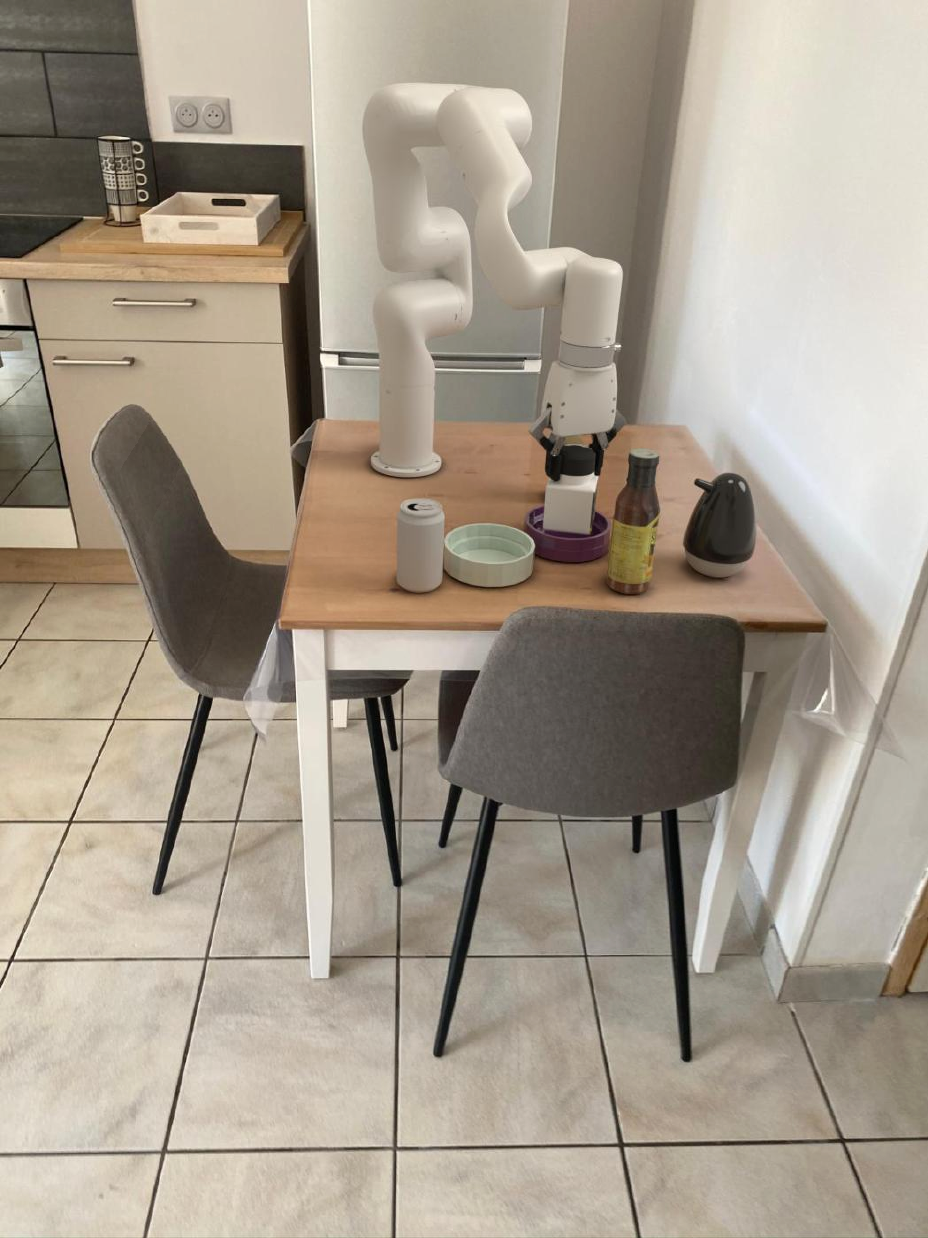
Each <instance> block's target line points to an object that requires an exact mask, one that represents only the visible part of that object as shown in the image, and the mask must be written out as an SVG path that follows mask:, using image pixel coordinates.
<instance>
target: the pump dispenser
mask: <svg viewBox="0 0 928 1238" xmlns="http://www.w3.org/2000/svg"><path fill="white" fill-rule="evenodd" d="M693 485H694V486H695V487H698V488H699V489H701V490H703V492H702V494H701V495H700V497H699V498H698V500H697V502H696V503H695V506H694V507H693V510H692V512H691V514H690V517H689V519H688V522H687V525H686V526H685V527H686V528H685V531H684V534H683V539H682V546H683V547H684V554H685V558H686V561H687V563H689V565H690V566H691V567H692V568H693V569H694V570H695V571H697V572H698V573H699V574H702V575H704V576H707V577H711V578H728V577H732V576H734V575H736V574H738V573H740V572H741V571H742V570H743V569H744V568H745V567H746V566H747V564H748V563H749V560H750V559H752V557H753V556H754V553H755V548H756V540H757V513H756V507H755V506H756V505H755V501H754V496H753V492H752V489H751V487H750V485H749V483H748V480H747V479H746V478H745V477H744V476H743V475H741V474H739V473H736V472H732V471H731V472H730V471H728V472H723V473H720V474H719V475H717V476H716V477H714V478H713V479H712V480H711V482H710V481H708V480H705V479H701V478H699V477H696V478H695V479H694V480H693Z"/></svg>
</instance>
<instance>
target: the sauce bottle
mask: <svg viewBox="0 0 928 1238" xmlns="http://www.w3.org/2000/svg"><path fill="white" fill-rule="evenodd" d="M627 463H628V471H627V477H626V479H625V481H626V483H625V486H624V487H623V488H622V489H621V490H620V491H619V493H618V495H617V496H616V499H615V506H614V513H613V516H612V522H611V530H610V539H609V548H608V557H607V558H608V559H607V566H606V575H607V576H606V585H607V586H608V587H609V589H611V590H613V591H614V592H617V593H621V594H624V595H625V594H626V595H639V594H641V593H643V592H645V591H646V590H647V589H648V587H649V583H650V580H651V578H652V571H653V565H654V558H655V550H656V544H657V538H658V528H659V522H660V516H661V506H660V501H659V497H658V493H657V486H656V477H657V476H656V475H657V468H658V466H659V464H660V453H659V452H658V451H656V450H654V449H650V448H645V447H644V448H643V447H638V448H633V449H631V450H629V452H628V458H627Z"/></svg>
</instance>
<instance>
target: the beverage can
mask: <svg viewBox="0 0 928 1238" xmlns="http://www.w3.org/2000/svg"><path fill="white" fill-rule="evenodd" d="M444 539H445V513H444V511H443V505H442V504H441V503H440V502H438V501H437V500H435V499H431V498H427V497H426V498H425V497H414V498H409V499H406V500H403V501H402V502H401V503H400V504H399V510H398V511H397V514H396V582H397V584H398V585H399V586H400V587H402V588H403V589H404V590H406V591H407V592H412V593H417V594H418V593H419V594H422V593H428V592H431V591H434V590H435V589H437V588H438V587H440V585H441V584H442V582H443V570H444V569H443V568H444V564H443V554H444Z"/></svg>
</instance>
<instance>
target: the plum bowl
mask: <svg viewBox="0 0 928 1238" xmlns="http://www.w3.org/2000/svg"><path fill="white" fill-rule="evenodd" d="M544 506H545V503H544V504H540V505H537V506H534V507H532V508H531V509H529V510H528V511H526V513H525V515H524V519H523V520H524V521H523V530H522V531H523V532H525V533H526V534H528V535H529V536H530V537H531V538H532V539H533V541H534V544H535V555H537V556H539V557H541V558H545V559H548V560H552V561H558V562H563V563H564V562H565V563H582V562H587V561H593V560H595V559H598V558H600V557H602V556H604V555H605V554H606V552H608V550H609V545H610V538H611V530H612V522H611V520H610V518H609V517H608V516H606V515H605V514H604V513H603V512H601V511H600V510H597V509H595V514H594V520H593V524H592V529H591V533H590V534H589V535H585V534H576V533H567V532H557V531H548V530H544V529H543V519H544Z"/></svg>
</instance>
